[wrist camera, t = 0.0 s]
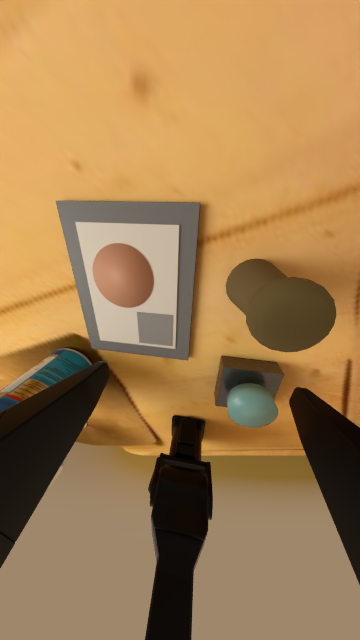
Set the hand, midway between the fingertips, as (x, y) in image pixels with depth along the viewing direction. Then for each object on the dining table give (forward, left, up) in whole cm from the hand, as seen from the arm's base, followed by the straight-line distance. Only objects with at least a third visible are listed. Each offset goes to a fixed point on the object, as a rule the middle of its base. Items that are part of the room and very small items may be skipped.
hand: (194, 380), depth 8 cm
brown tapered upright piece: (+2, -6, -15) cm, 16 cm away
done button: (-13, -8, -11) cm, 19 cm away
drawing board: (0, +9, -15) cm, 17 cm away
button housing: (-13, -8, -15) cm, 21 cm away
